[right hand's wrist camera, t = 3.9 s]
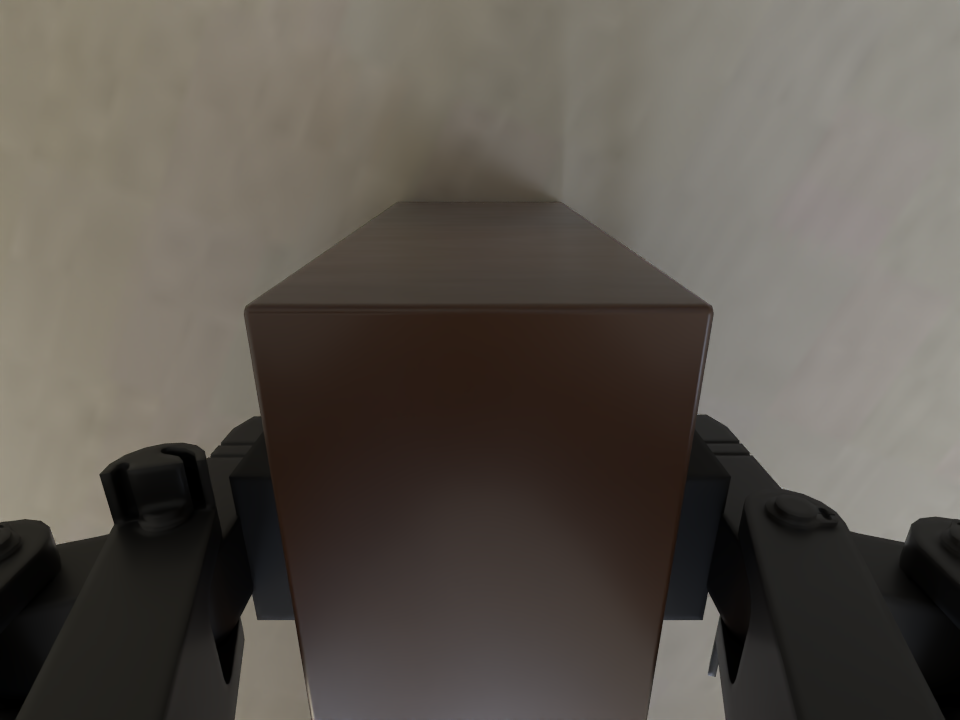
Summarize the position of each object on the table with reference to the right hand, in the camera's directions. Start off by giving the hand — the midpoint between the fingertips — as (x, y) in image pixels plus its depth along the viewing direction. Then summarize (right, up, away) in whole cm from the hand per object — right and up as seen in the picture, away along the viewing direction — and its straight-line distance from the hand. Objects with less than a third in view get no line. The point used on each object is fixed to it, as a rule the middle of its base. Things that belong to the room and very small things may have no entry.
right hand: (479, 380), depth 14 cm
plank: (0, -8, +4) cm, 9 cm away
